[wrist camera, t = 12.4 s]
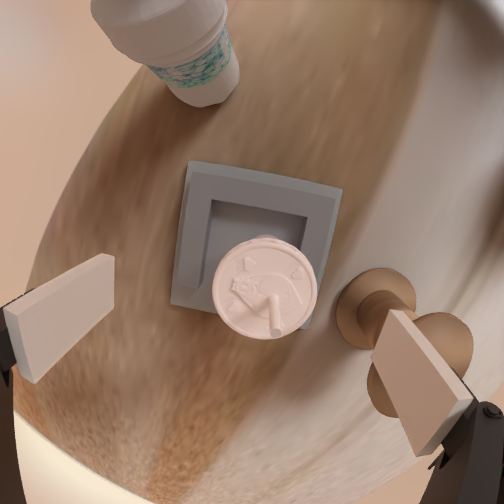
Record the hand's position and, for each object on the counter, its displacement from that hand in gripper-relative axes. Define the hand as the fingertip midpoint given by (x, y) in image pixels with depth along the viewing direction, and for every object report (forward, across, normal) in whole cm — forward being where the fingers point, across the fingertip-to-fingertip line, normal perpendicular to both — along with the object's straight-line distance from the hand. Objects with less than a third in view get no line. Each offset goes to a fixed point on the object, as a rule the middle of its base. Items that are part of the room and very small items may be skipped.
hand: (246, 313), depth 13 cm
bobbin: (+15, +14, -5) cm, 21 cm away
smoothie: (+14, +1, -1) cm, 14 cm away
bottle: (+16, -8, +14) cm, 22 cm away
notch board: (+15, 0, -1) cm, 15 cm away
